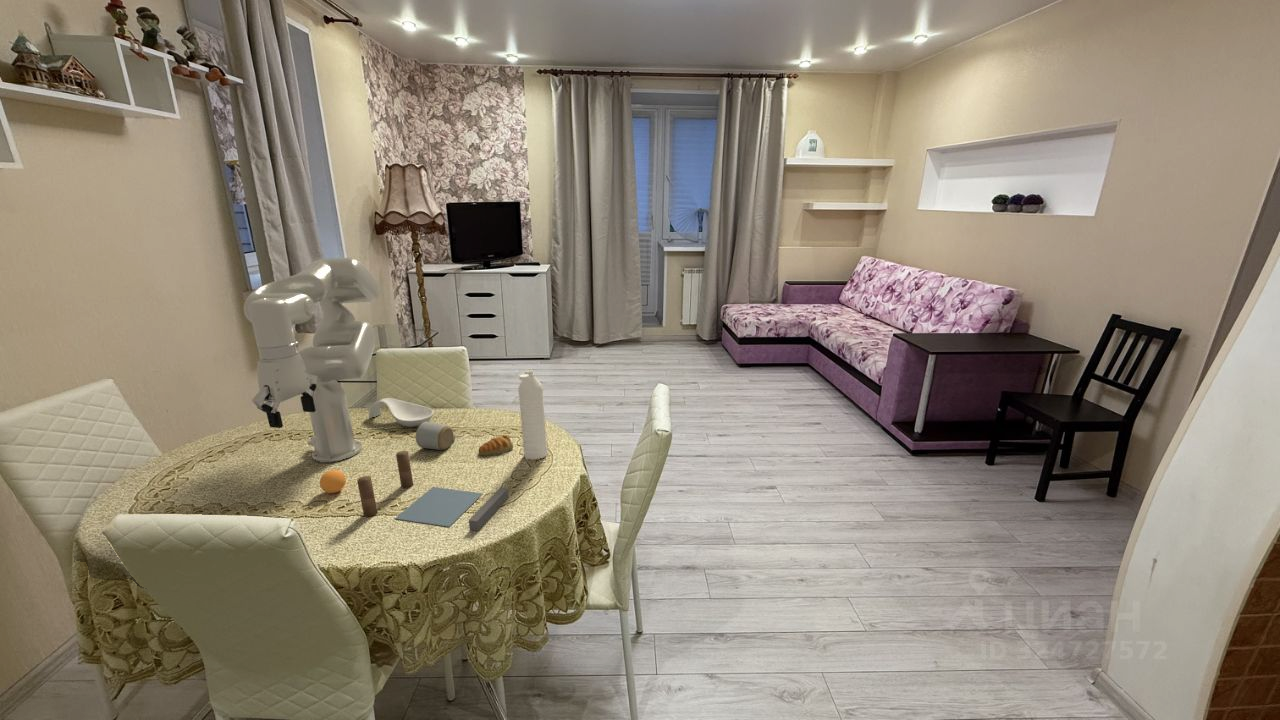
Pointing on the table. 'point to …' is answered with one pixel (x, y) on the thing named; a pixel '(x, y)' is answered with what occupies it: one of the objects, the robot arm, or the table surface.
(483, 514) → the wall
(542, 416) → the water bottle
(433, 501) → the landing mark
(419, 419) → the spoon rest
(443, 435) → the ceramic mug
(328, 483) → the ball
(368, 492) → the post
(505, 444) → the pastry
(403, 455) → the post
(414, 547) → the table surface
